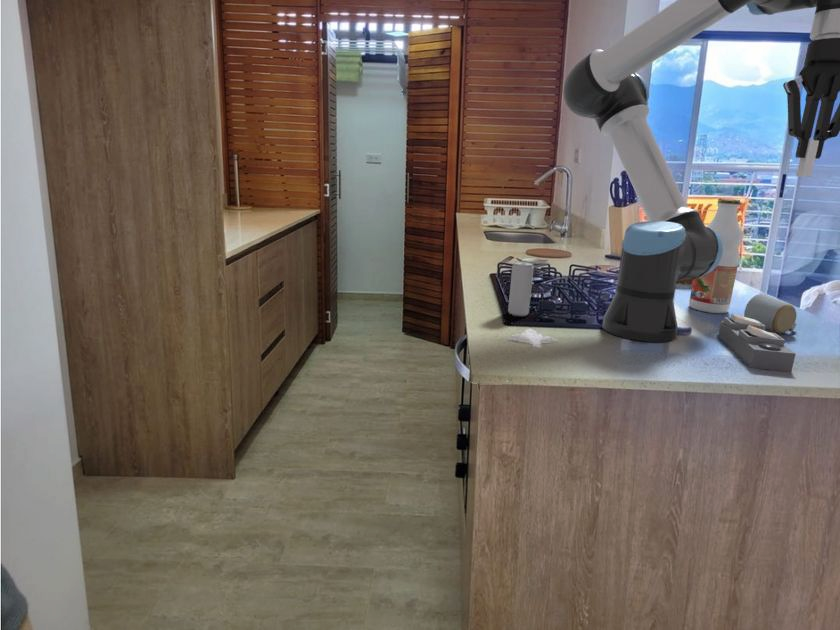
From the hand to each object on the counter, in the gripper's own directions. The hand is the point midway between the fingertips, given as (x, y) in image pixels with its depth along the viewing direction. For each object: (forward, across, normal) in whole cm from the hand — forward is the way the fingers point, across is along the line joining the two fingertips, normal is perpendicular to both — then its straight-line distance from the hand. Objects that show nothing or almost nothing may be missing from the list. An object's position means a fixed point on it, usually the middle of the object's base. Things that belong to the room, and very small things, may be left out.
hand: (803, 176), depth 109 cm
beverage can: (+35, -50, +9) cm, 61 cm away
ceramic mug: (+35, +8, +18) cm, 40 cm away
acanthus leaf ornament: (+35, -47, -10) cm, 59 cm away
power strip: (+34, -4, -3) cm, 35 cm away
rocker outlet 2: (+30, -4, -6) cm, 31 cm away
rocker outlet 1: (+30, -4, +4) cm, 30 cm away
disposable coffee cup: (+35, 0, +70) cm, 78 cm away
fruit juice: (+35, -2, +33) cm, 48 cm away
